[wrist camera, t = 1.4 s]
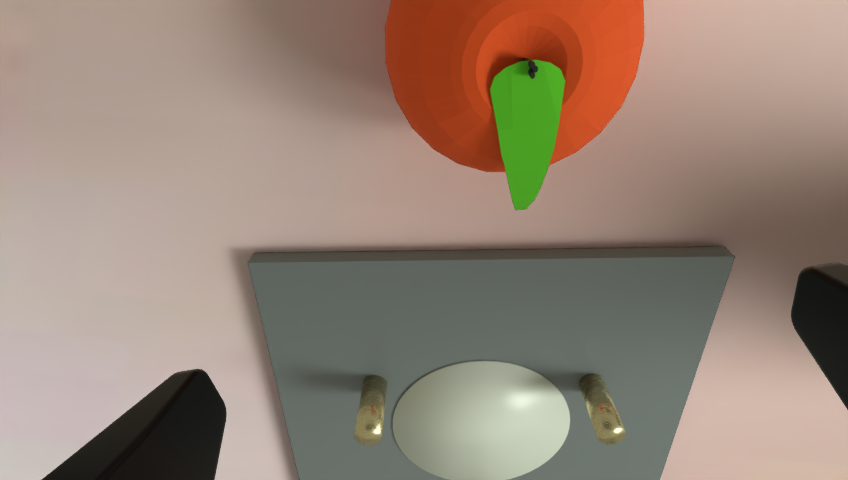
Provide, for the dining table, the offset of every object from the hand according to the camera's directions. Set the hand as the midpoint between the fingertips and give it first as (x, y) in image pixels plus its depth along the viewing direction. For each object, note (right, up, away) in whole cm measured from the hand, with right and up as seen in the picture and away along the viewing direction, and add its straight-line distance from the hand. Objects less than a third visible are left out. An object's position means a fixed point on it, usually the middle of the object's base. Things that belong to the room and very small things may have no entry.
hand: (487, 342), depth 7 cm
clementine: (+2, +8, +10) cm, 13 cm away
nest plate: (+2, -8, +18) cm, 20 cm away
